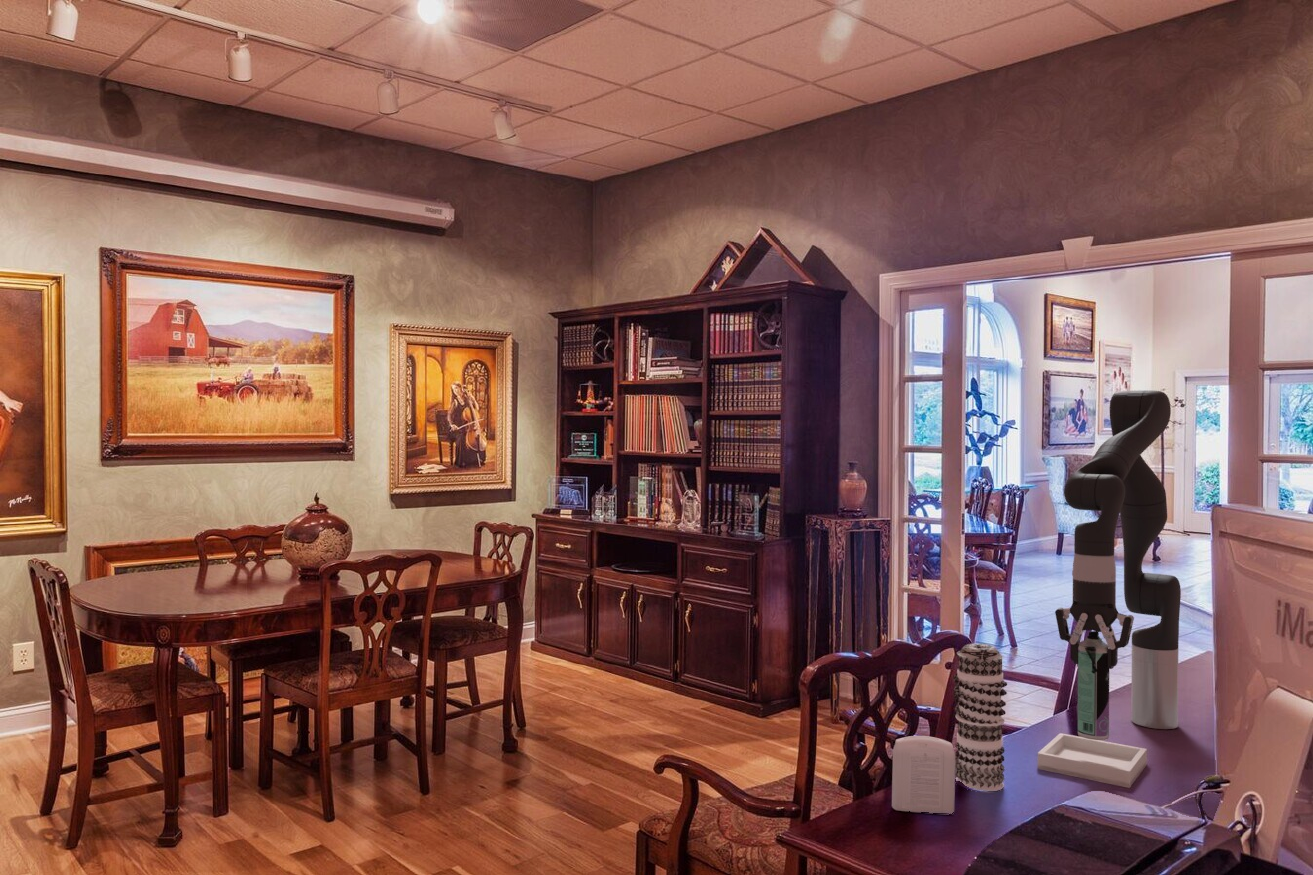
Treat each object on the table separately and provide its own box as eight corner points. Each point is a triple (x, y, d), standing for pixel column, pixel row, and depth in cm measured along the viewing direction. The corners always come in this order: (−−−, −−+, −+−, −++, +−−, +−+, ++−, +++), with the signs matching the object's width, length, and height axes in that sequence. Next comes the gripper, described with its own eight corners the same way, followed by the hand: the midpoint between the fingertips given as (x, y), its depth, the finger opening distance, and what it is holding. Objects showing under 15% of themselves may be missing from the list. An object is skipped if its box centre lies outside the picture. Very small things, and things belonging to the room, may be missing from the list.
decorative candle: (980, 796, 166) (981, 653, 166) (942, 779, 174) (942, 643, 175) (1017, 788, 170) (1018, 648, 171) (978, 772, 179) (979, 639, 179)
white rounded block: (952, 807, 161) (953, 734, 161) (956, 817, 157) (957, 742, 157) (890, 803, 163) (891, 731, 163) (893, 812, 159) (893, 738, 159)
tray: (1060, 747, 193) (1060, 733, 193) (1146, 764, 184) (1147, 748, 184) (1037, 768, 181) (1037, 752, 181) (1129, 787, 171) (1129, 771, 171)
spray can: (1112, 741, 179) (1112, 635, 179) (1081, 739, 180) (1081, 633, 180) (1104, 732, 184) (1105, 629, 184) (1074, 730, 185) (1075, 628, 186)
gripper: (1139, 579, 181) (1138, 667, 181) (1060, 572, 190) (1059, 656, 190) (1131, 583, 175) (1130, 675, 175) (1049, 576, 184) (1049, 663, 184)
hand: (1093, 665), depth 182 cm, fingers closed on spray can, 5 cm apart
